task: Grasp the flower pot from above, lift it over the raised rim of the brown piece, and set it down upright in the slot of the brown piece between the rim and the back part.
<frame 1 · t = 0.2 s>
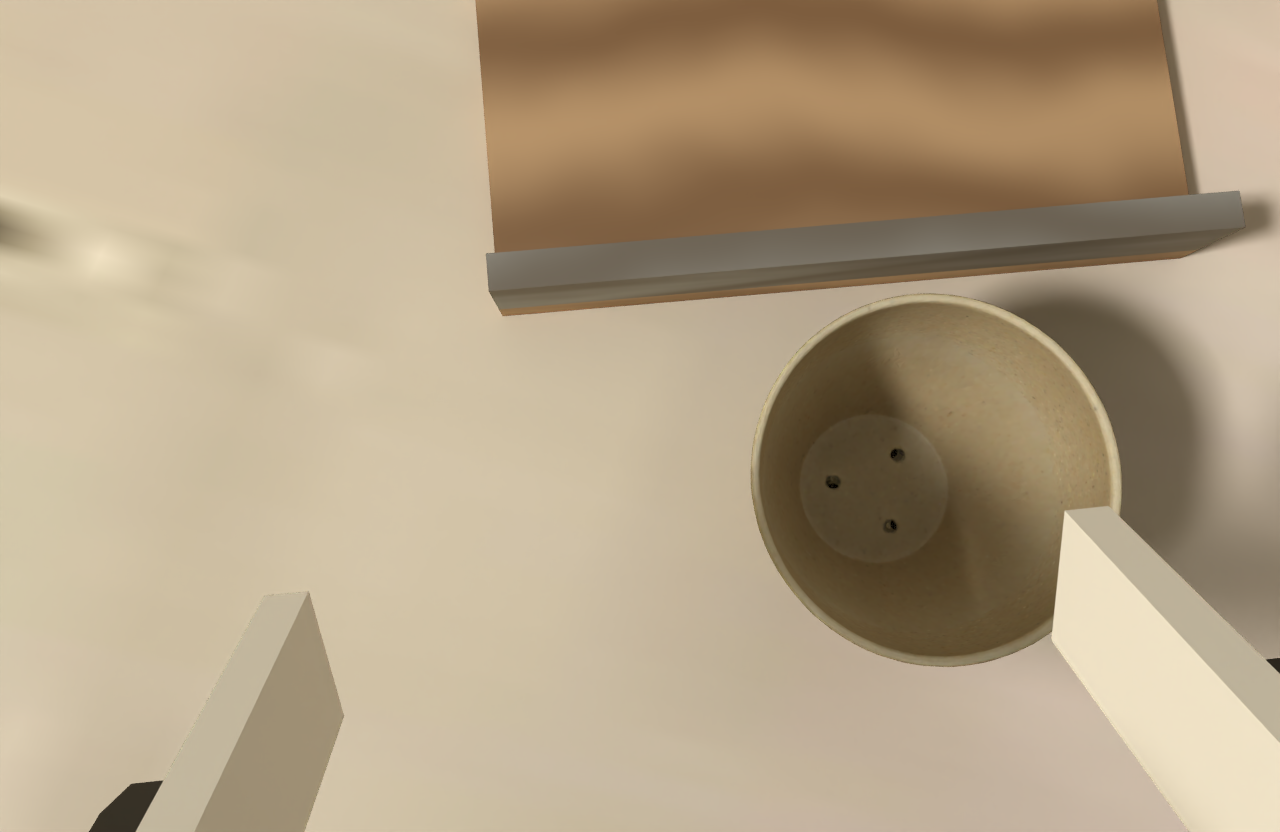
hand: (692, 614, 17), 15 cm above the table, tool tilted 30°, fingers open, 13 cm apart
flower pot: (867, 486, 33), on the table
brown piece: (816, 44, 34), on the table
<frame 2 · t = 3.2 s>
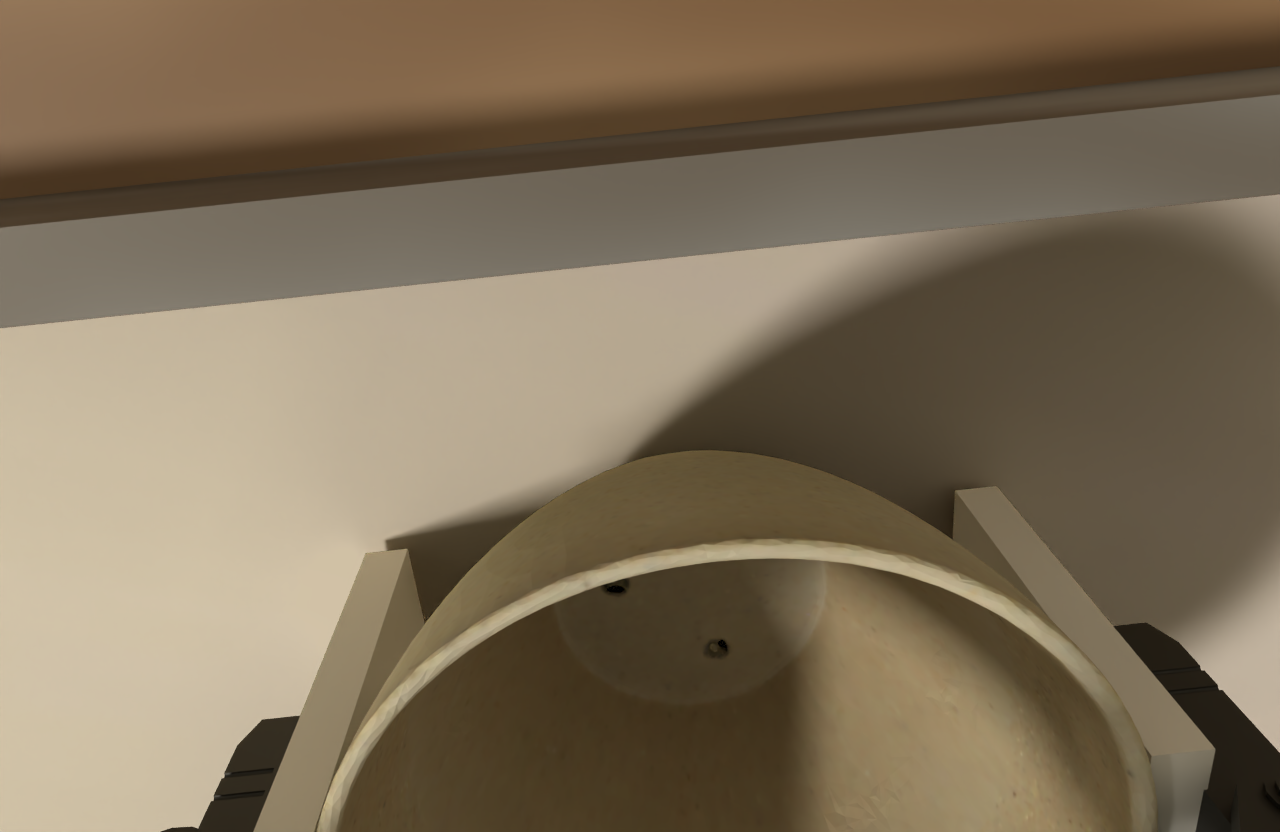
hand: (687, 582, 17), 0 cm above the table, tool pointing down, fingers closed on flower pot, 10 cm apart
flower pot: (684, 569, 18), on the table, touching gripper
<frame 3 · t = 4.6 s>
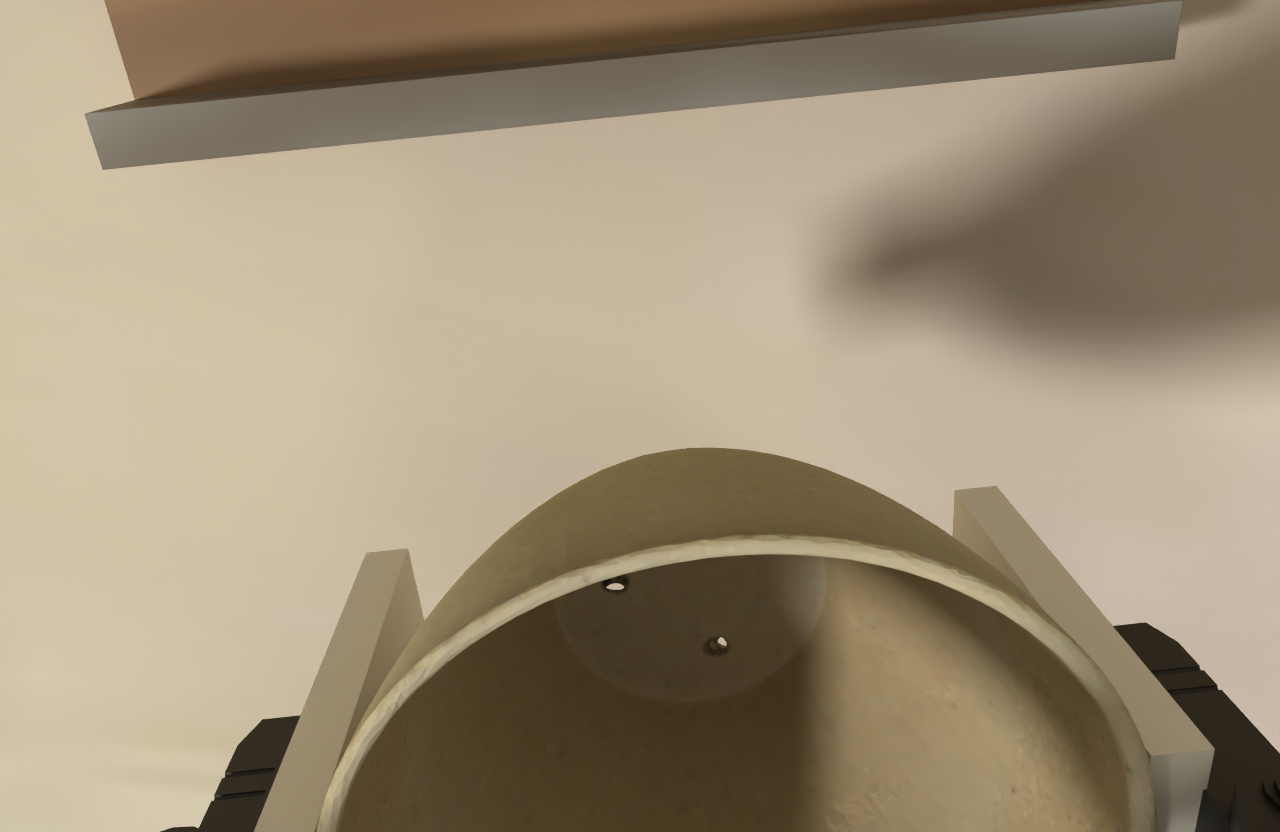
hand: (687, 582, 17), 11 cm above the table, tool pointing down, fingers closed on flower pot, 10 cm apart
flower pot: (684, 566, 18), point 10 cm above the table, touching gripper
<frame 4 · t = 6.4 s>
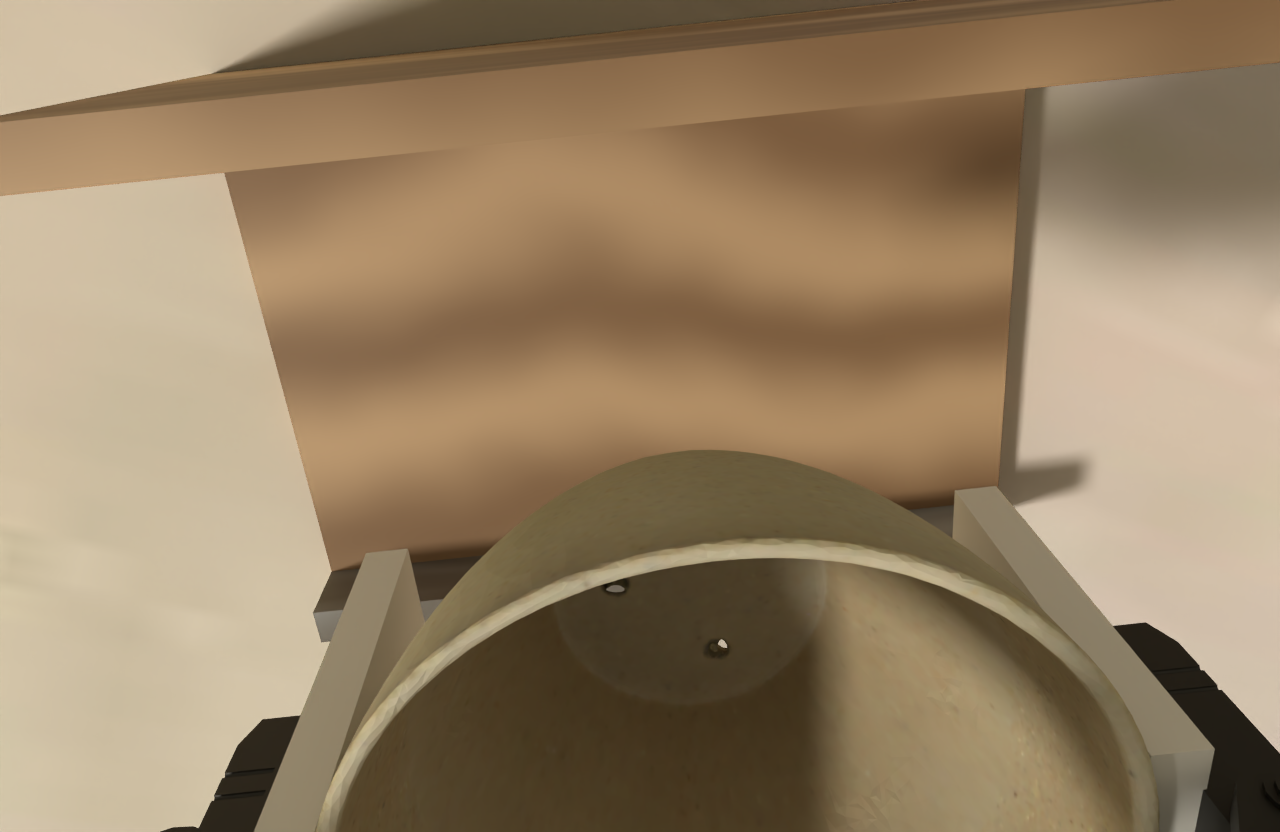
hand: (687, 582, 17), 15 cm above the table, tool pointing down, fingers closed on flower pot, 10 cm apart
flower pot: (684, 568, 18), point 15 cm above the table, touching gripper
brown piece: (643, 320, 32), on the table
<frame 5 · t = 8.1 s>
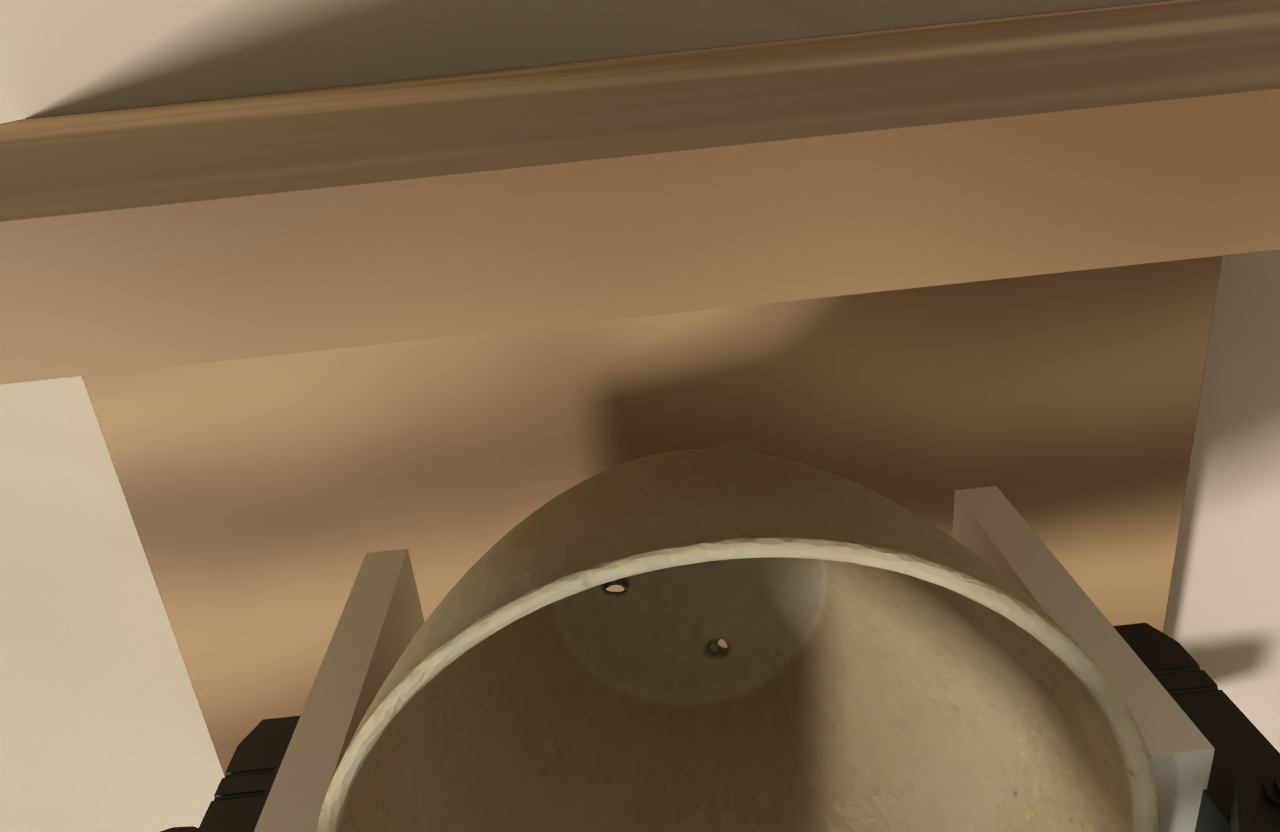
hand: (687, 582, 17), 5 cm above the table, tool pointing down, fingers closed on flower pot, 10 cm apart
flower pot: (684, 568, 18), point 5 cm above the table, touching gripper
brown piece: (666, 462, 22), on the table
when the fingers open (3 cm above the table, at t = 9.6 s): flower pot drops 1 cm, resting on brown piece.
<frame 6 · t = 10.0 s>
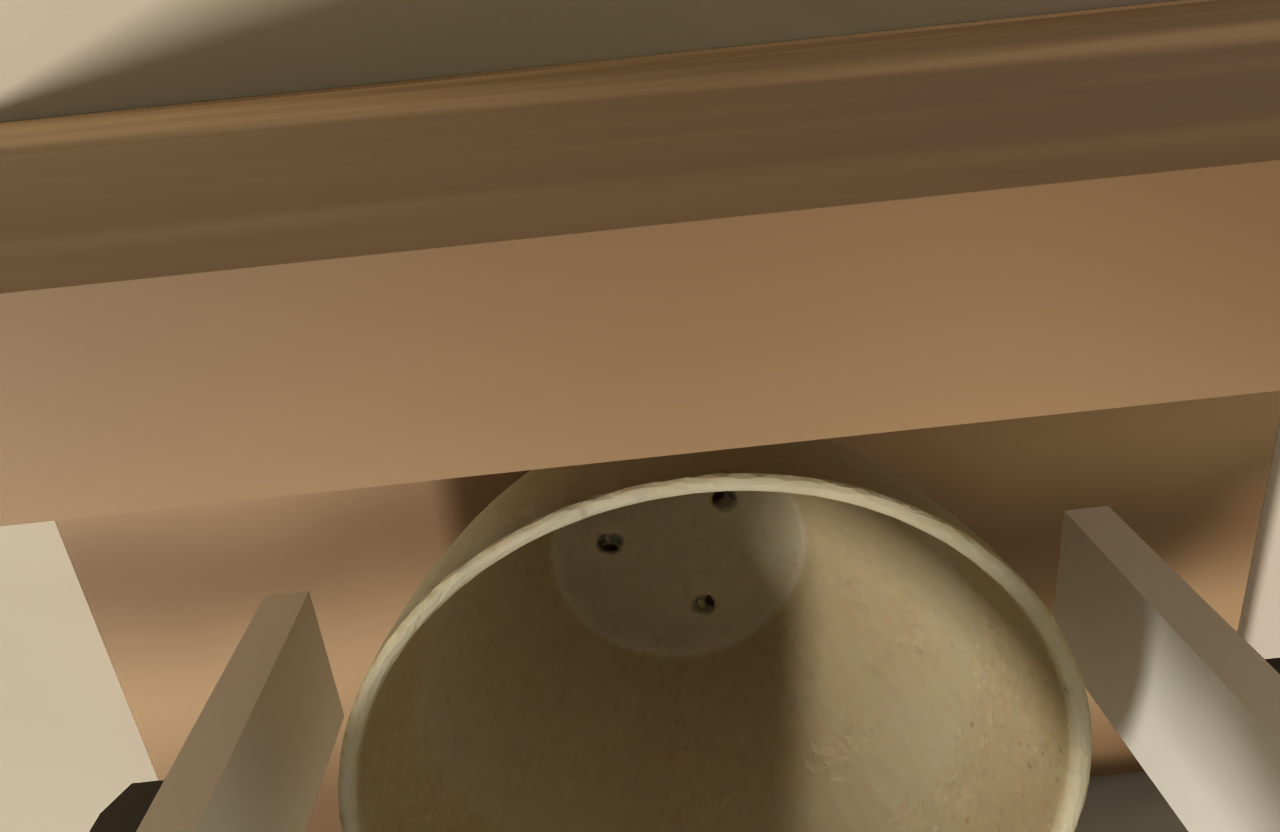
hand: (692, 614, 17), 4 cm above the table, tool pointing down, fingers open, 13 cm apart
flower pot: (674, 530, 19), point 1 cm above the table, touching brown piece
brown piece: (675, 509, 20), on the table
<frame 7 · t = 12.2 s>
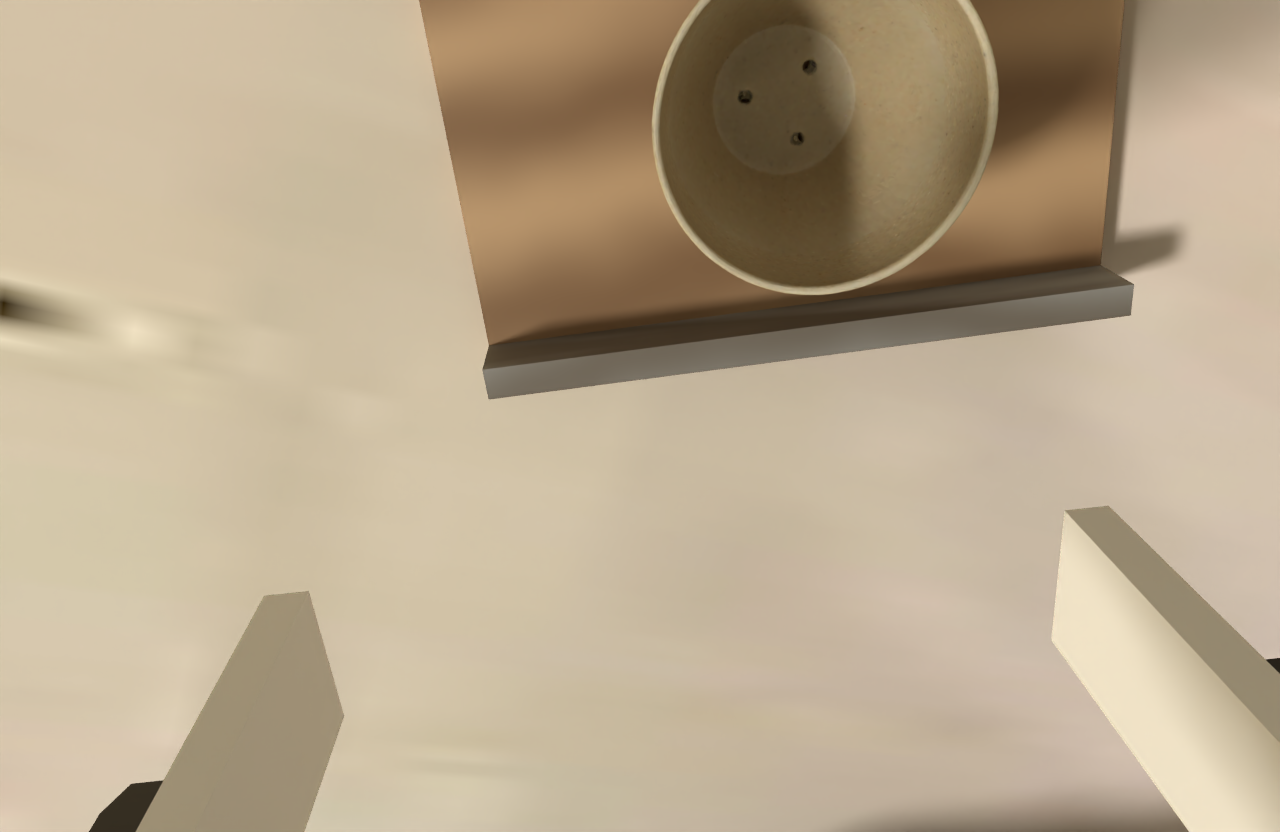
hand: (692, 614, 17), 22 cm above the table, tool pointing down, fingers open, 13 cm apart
flower pot: (779, 97, 34), point 1 cm above the table, touching brown piece
brown piece: (777, 94, 34), on the table
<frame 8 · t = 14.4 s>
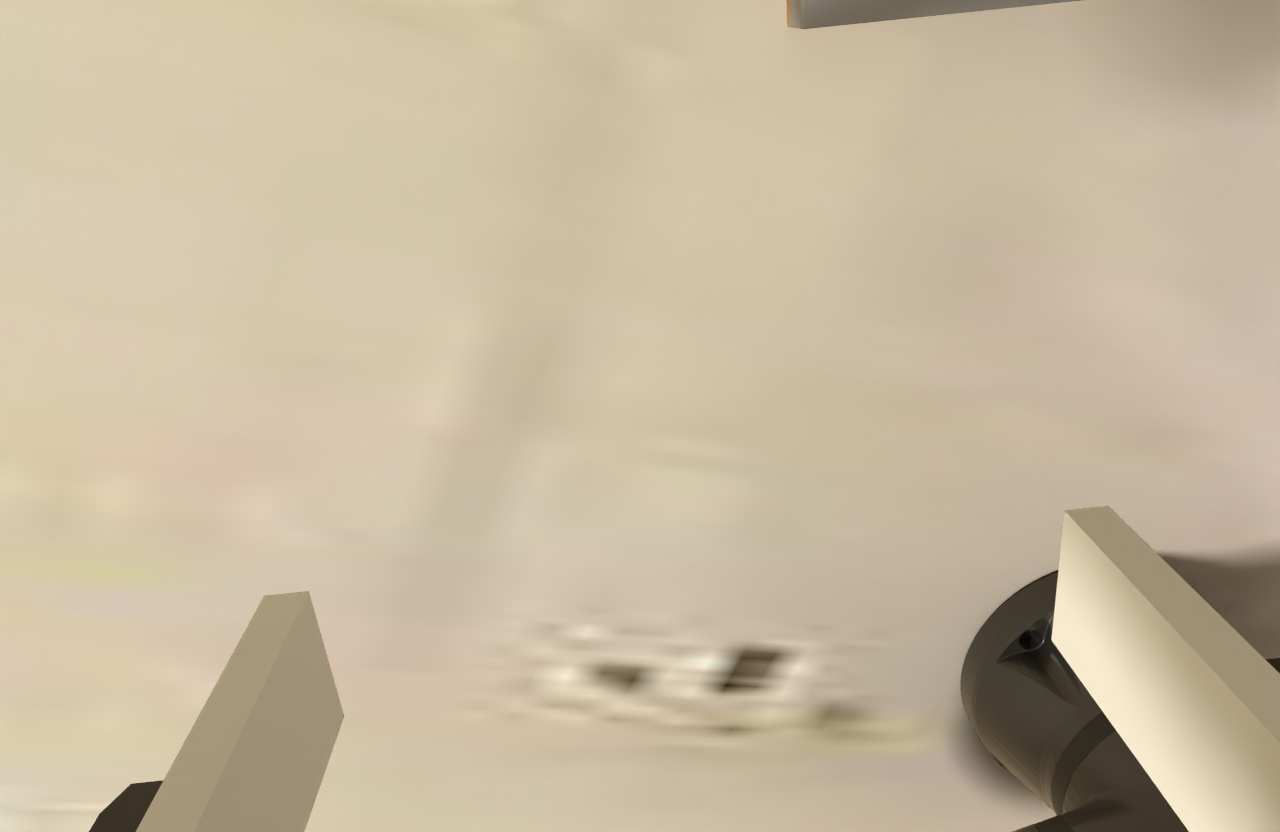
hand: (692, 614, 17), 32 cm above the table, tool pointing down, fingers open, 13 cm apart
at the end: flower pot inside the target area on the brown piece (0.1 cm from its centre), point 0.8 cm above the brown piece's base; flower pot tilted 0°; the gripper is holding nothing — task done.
